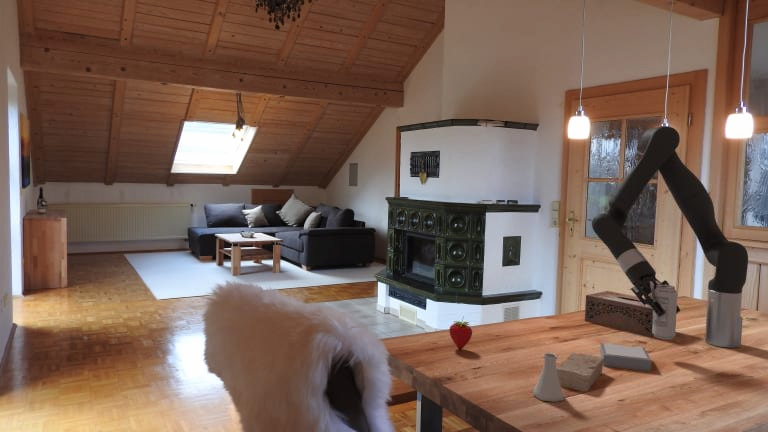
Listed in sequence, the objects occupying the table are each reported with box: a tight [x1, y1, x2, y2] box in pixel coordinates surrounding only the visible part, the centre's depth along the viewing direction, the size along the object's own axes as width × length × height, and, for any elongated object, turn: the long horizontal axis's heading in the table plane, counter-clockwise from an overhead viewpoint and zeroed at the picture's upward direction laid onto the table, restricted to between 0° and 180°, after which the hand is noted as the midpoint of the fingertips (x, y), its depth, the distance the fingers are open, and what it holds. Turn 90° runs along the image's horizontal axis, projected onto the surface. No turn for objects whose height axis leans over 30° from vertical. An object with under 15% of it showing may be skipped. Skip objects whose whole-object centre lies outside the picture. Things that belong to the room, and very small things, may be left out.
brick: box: [556, 352, 604, 392], centre depth 139 cm, size 17×8×5 cm, turn 146°
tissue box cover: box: [584, 290, 657, 339], centre depth 192 cm, size 26×14×10 cm, turn 37°
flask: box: [533, 352, 565, 403], centre depth 126 cm, size 7×7×10 cm
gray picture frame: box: [599, 342, 652, 372], centre depth 153 cm, size 12×12×3 cm
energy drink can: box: [652, 284, 678, 341], centre depth 156 cm, size 6×6×15 cm
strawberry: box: [448, 315, 473, 350], centre depth 161 cm, size 6×8×10 cm
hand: (670, 313), depth 155 cm, fingers closed on energy drink can, 6 cm apart
